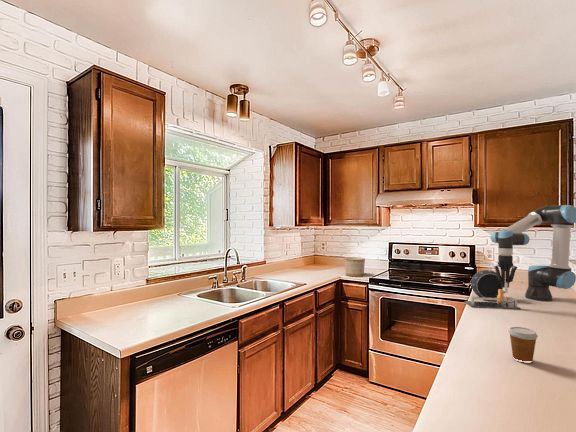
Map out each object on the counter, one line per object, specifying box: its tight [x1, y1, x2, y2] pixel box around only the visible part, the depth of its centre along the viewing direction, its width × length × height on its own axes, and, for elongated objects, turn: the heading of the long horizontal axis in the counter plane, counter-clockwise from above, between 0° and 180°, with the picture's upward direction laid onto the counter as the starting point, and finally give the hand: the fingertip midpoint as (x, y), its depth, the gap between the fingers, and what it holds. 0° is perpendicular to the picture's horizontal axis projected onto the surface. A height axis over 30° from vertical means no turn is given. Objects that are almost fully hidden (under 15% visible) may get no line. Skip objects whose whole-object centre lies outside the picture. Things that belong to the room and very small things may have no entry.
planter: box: [344, 256, 366, 278], centre depth 319 cm, size 19×19×16 cm
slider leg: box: [496, 289, 506, 304], centre depth 210 cm, size 3×6×10 cm, turn 172°
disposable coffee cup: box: [508, 326, 539, 361], centre depth 133 cm, size 10×10×12 cm
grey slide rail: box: [470, 296, 518, 307], centre depth 211 cm, size 26×5×7 cm, turn 81°
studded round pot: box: [470, 269, 503, 298], centre depth 229 cm, size 11×20×20 cm, turn 78°
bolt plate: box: [464, 300, 521, 311], centre depth 213 cm, size 28×12×1 cm, turn 81°
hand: (505, 292), depth 208 cm, fingers closed
